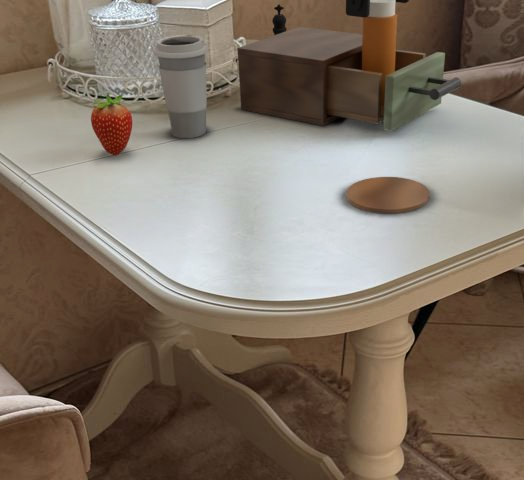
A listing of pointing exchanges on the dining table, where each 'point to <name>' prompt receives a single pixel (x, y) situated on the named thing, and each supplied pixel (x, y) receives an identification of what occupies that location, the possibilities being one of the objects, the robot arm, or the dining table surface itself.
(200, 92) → the cup
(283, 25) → the chess piece
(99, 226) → the dining table surface
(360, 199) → the coaster
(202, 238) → the dining table surface
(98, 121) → the fruit
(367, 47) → the pill bottle
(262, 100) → the cabinet
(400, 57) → the drawer
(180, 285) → the dining table surface
